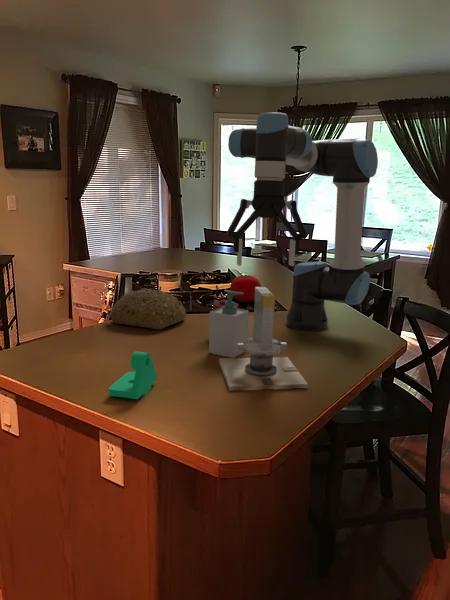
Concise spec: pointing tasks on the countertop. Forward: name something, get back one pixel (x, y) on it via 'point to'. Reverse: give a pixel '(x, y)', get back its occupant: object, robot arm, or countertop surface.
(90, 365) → the countertop surface
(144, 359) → the camera mount
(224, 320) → the soap bottle
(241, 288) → the tomato
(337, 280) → the robot arm
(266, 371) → the metal spool
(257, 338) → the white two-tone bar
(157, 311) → the bread
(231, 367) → the board
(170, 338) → the countertop surface
